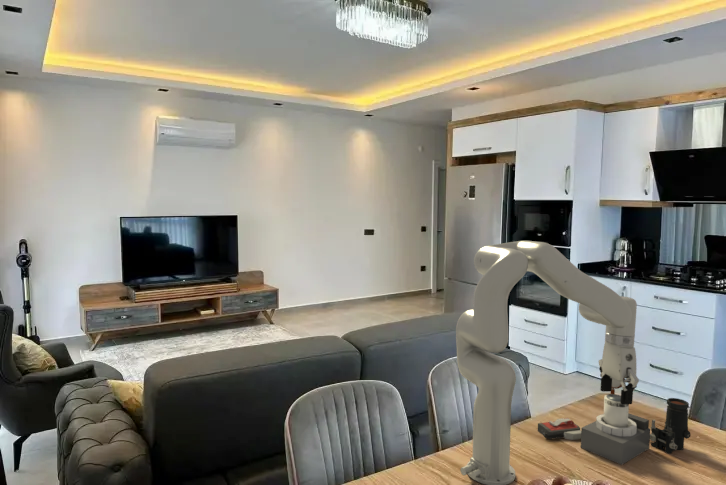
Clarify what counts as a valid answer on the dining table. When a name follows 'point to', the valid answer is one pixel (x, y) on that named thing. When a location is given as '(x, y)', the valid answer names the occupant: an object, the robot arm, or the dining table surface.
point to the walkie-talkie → (560, 429)
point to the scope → (672, 427)
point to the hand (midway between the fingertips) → (615, 397)
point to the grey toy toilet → (616, 439)
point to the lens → (615, 411)
